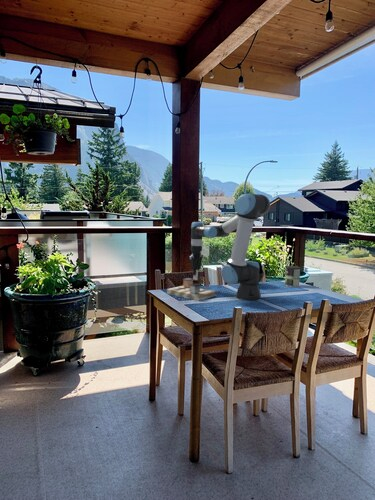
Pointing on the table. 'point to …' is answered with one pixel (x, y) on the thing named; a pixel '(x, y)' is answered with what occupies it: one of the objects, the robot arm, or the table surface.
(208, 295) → the tan muffin tray
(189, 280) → the fader terracotta
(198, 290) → the fader grey
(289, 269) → the coffee can
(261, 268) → the dark grey cylinder
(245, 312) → the table surface
